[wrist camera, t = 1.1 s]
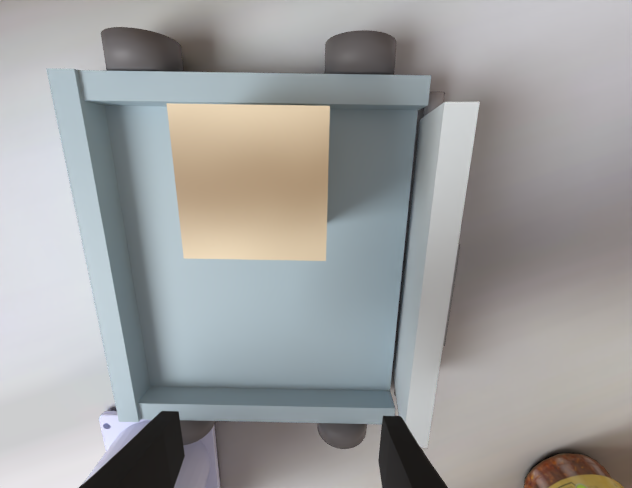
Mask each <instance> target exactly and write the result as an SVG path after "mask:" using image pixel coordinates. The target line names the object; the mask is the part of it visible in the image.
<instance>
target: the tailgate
mask: <svg viewBox="0 0 632 488" xmlns="http://www.w3.org/2000/svg"><path fill="white" fill-rule="evenodd" d="M479 104H480V102H444V103H442V104H441V105H440V106H438V107H437V108H435V109H434V110H433V111H431V112H430V113H428V114H427V115H425V116H424V117H423V118H421V119H420V122H419V132H418V142H417V151H416V161H415V171H414V181H413V191H412V200H411V210H410V220H409V230H408V240H407V249H406V259H405V269H404V279H403V288H402V298H401V308H400V318H399V328H398V337H397V347H396V357H395V367H394V384H395V392H396V399H397V406H398V413H399V416H401V417H402V418H403V420H404V421H405V423H406V425H407V427H408V428H409V430H410V432H411V433H412V435H413V436H414V438H415V440H416V441H417V443H418V444H419V446H420V447H421V448H428V442H429V435H430V429H431V422H432V416H433V409H434V402H435V396H436V389H437V382H438V376H439V369H440V363H441V356H442V349H443V346H445V340H446V334H447V327H448V321H449V314H450V308H451V301H452V294H453V288H454V281H455V275H456V268H457V262H458V255H459V249H460V244H459V237H460V230H461V223H462V217H463V210H464V203H465V197H466V190H467V184H468V177H469V170H470V164H471V157H472V150H473V144H474V137H475V131H476V124H477V117H478V111H479Z"/></svg>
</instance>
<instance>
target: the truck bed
mask: <svg viewBox="0 0 632 488" xmlns="http://www.w3.org/2000/svg"><path fill="white" fill-rule="evenodd" d="M101 37H102V44H103V50H104V56H105V63H106V69H107V71H95V70H76V69H47V74H48V79H49V84H50V89H51V94H52V98H53V103H54V108H55V113H56V118H57V123H58V128H59V133H60V137H61V142H62V147H63V152H64V157H65V162H66V167H67V171H68V176H69V181H70V186H71V191H72V196H73V201H74V206H75V210H76V215H77V220H78V225H79V230H80V235H81V240H82V244H83V249H84V254H85V259H86V264H87V269H88V274H89V279H90V283H91V288H92V293H93V298H94V303H95V308H96V313H97V317H98V322H99V327H100V332H101V337H102V342H103V347H104V352H105V356H106V361H107V366H108V371H109V376H110V381H111V386H112V390H113V395H114V400H115V405H116V410H117V415H118V420H119V422H139V421H140V420H141V419H144V420H152V419H153V418H154V417H156V416H157V415H158V414H159V413H160V412H161V411H179V418H180V425H181V432H182V439H183V445H188V444H191V443H194V442H196V441H198V440H200V439H202V438H203V437H204V436H206V435H207V434H208V433H209V432H210V431H211V429H212V428H213V426H214V424H215V421H242V422H291V423H318V432H319V434H320V436H321V438H322V439H323V440H324V441H325V442H326V443H327V444H329V445H331V446H333V447H336V448H340V449H348V448H353V447H355V446H357V445H359V444H360V443H361V442H362V441H363V439H364V438H365V435H366V428H367V424H382V420H383V416H395V406H394V403H393V399H392V396H391V393H390V386H391V376H392V366H393V356H394V346H395V336H396V326H397V316H398V306H399V296H400V286H401V276H402V266H403V256H404V246H405V236H406V226H407V216H408V206H409V196H410V186H411V176H412V166H413V156H414V146H415V136H416V126H417V116H418V110H420V109H422V108H424V114H423V115H424V116H425V115H427V114H428V113H430V112H431V111H433V110H434V109H435V108H437V107H438V106H440V105H441V104H442V103H444V94H445V93H444V92H430V83H431V75H394V65H395V52H396V40H395V38H394V37H392V36H391V35H388V34H386V33H382V32H377V31H351V32H345V33H341V34H338V35H335V36H333V37H331V38H330V39H328V40H327V42H326V44H325V74H302V73H233V72H183V62H182V52H181V45H180V44H179V43H178V42H177V41H175V40H173V39H171V38H169V37H167V36H165V35H162V34H159V33H155V32H152V31H147V30H142V29H136V28H127V27H114V28H108V29H105V30H103V31H102V32H101ZM429 92H430V93H429ZM167 103H173V104H240V105H306V106H330V125H329V164H328V203H327V241H326V261H298V260H241V259H184V257H183V248H182V239H181V230H180V220H179V211H178V202H177V193H176V184H175V175H174V166H173V157H172V148H171V139H170V130H169V121H168V112H167ZM394 394H395V396H396V392H395V391H394Z"/></svg>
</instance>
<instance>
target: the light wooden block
mask: <svg viewBox="0 0 632 488" xmlns="http://www.w3.org/2000/svg"><path fill="white" fill-rule="evenodd" d="M167 112H168V121H169V130H170V139H171V148H172V157H173V166H174V175H175V184H176V193H177V202H178V211H179V220H180V230H181V239H182V248H183V257H184V259H241V260H298V261H326V241H327V203H328V164H329V125H330V106H306V105H240V104H173V103H167Z"/></svg>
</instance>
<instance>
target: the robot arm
mask: <svg viewBox="0 0 632 488" xmlns="http://www.w3.org/2000/svg"><path fill="white" fill-rule="evenodd" d="M99 422H100V426H101V431H102V435H103V439H104V444H105V448H106V452H105V454H104V455H103V456H102V458H101V459H100V461H99V462H98V463H97V465H96V466H95V467H94V469H93V470H92V472H91V473H90V474H89V476H88V477H87V478H86V480H85V481H84V483H83V484H82V485H81V486H80V487H79V488H220V478H219V468H218V458H217V448H216V437H215V427H214V426H213V428H212V429H211V431H210V432H209V433H208V434H207V435H206V436H204V437H203V438H202V439H200V440H198V441H196V442H194V443H191V444H188V445H183V439H182V432H181V425H180V418H179V411H161V412H160V413H159V414H158V415H157V416H156V417H154V418H153V419H152V420H144V419H141V420H140V421H139V422H119V420H118V415H117V411H105V412H103V413H102V414H101V416H100V417H99ZM379 467H380V474H381V481H382V488H448V487H447V486H446V484H445V483H444V481H443V480H442V478H441V477H440V476H439V474H438V473H437V471H436V470H435V468H434V467H433V466H432V464H431V463H430V461H429V460H428V458H427V457H426V455H425V454H424V452H423V451H422V449H421V448H420V446H419V444H418V443H417V441H416V440H415V438H414V436H413V435H412V433H411V432H410V430H409V428H408V427H407V425H406V423H405V421H404V420H403V418H402V417H401V416H383V420H382V430H381V441H380V451H379Z"/></svg>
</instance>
